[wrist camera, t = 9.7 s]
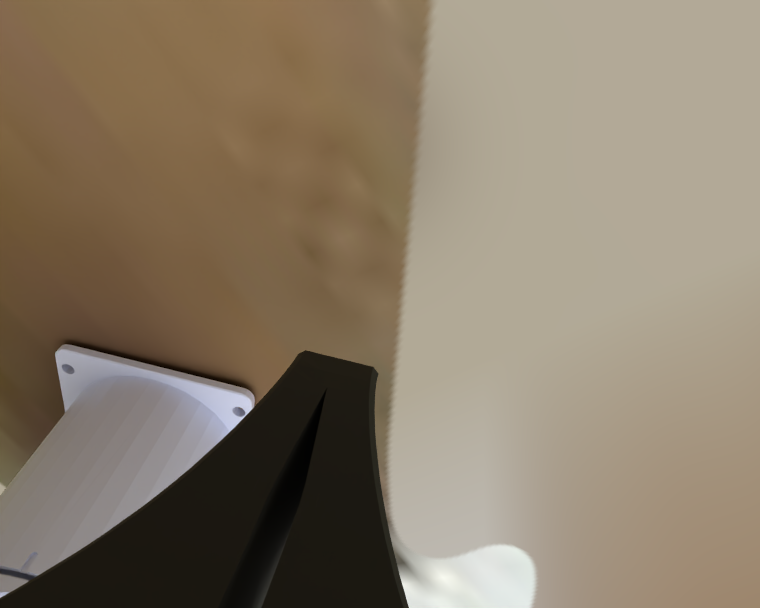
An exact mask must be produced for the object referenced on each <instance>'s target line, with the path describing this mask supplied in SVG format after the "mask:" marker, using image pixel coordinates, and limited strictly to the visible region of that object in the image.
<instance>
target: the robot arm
mask: <svg viewBox="0 0 760 608" xmlns="http://www.w3.org/2000/svg"><path fill="white" fill-rule="evenodd" d="M55 358H56V364H57V369H58V375H59V380H60V386H61V391H62V397H63V402H64V408H65V414H64V415H63V416H62V418H61V419H60V420H59V421H58V423H57V424H56V425H55V427H54V428H53V429H52V430H51V432H50V433H49V434H48V435H47V437H46V438H45V439H44V441H43V442H42V443H41V444H40V446H39V447H38V448H37V449H36V451H35V452H34V453H33V455H32V456H31V457H30V458H29V460H28V461H27V462H26V463H25V465H24V466H23V467H22V469H21V470H20V471H19V472H18V474H17V475H16V476H15V477H14V479H13V480H12V481H11V482H10V484H9V485H8V486H7V488H6V489H5V490H4V492H3V493H2V494H1V495H0V608H409V607H408V604H407V600H406V596H405V593H404V589H403V586H402V582H401V579H400V575H399V571H398V567H397V563H396V559H395V555H394V551H393V547H392V542H391V538H390V533H389V528H388V524H387V519H386V513H385V507H384V502H383V496H382V490H381V483H380V476H379V468H378V459H377V449H376V438H375V414H374V407H375V389H376V381H377V377H378V373H377V371H376V370H375V369H374V367H371V366H367V365H363V364H359V363H355V362H351V361H346V360H342V359H338V358H334V357H330V356H326V355H322V354H318V353H314V352H310V351H304V352H302V353H299V354H298V356H297V357H296V358H295V360H294V361H293V363H292V364H291V365H290V367H289V368H288V369H287V370H286V372H285V373H284V374H283V375H282V377H281V378H280V379H279V380H278V381H277V383H276V384H275V385H274V386H273V387H272V388H271V389H270V391H269V392H268V393H267V394H266V395H265V396H264V397H263V398H262V399H261V401H260V402H259V403H258V404H257V405H256V406H255V407H254V403H255V399H254V395H253V394H252V392H250V391H249V390H248V389H245V388H242V387H238V386H234V385H230V384H226V383H222V382H218V381H214V380H210V379H206V378H202V377H198V376H194V375H190V374H186V373H182V372H178V371H174V370H170V369H166V368H162V367H158V366H154V365H150V364H146V363H142V362H138V361H134V360H130V359H126V358H122V357H118V356H114V355H110V354H106V353H102V352H98V351H94V350H90V349H86V348H82V347H78V346H74V345H68V344H65V345H62V346H61V347H60V348H59V349H58V350H57V351H56V352H55ZM238 407H240V408H242V409H240V408H238Z"/></svg>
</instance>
